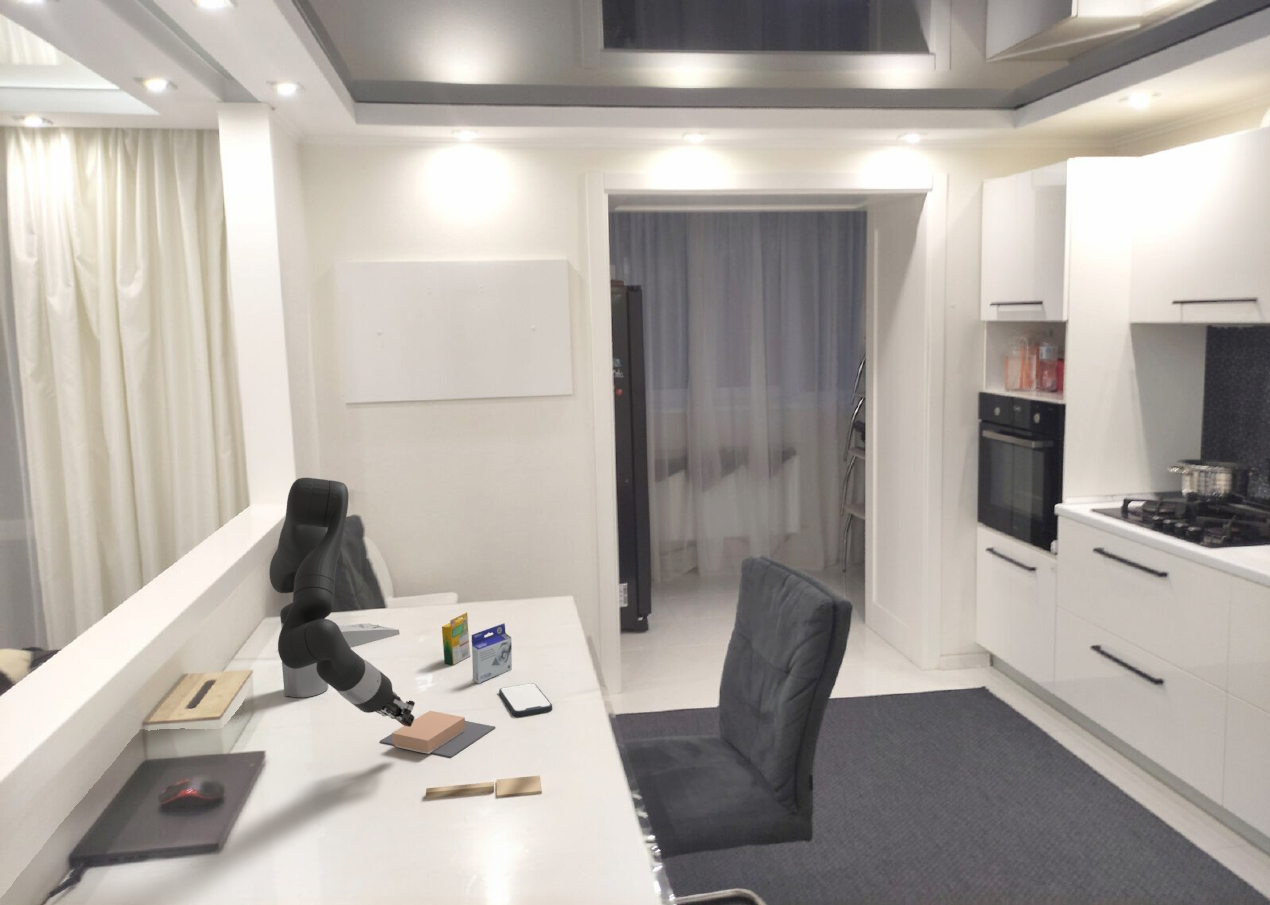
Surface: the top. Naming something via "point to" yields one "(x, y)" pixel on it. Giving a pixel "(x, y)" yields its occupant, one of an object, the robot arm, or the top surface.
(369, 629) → the ramp
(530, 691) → the phone case
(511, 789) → the turner
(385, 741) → the mat
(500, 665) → the ink box
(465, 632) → the crayon box
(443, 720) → the tile
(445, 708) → the top surface
